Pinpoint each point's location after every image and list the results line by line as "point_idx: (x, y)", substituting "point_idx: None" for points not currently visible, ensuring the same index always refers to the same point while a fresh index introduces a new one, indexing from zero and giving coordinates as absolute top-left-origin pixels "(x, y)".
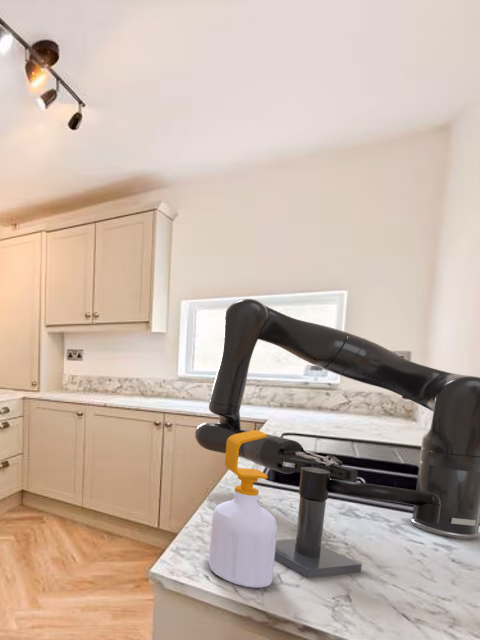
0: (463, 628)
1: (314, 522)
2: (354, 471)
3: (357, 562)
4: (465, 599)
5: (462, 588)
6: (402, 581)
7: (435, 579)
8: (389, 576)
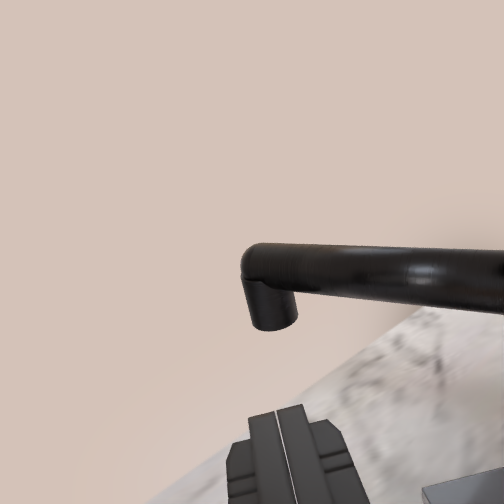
0: (362, 357)
1: None
2: (273, 412)
3: (429, 495)
4: None
5: (217, 464)
6: None
7: None
8: None
